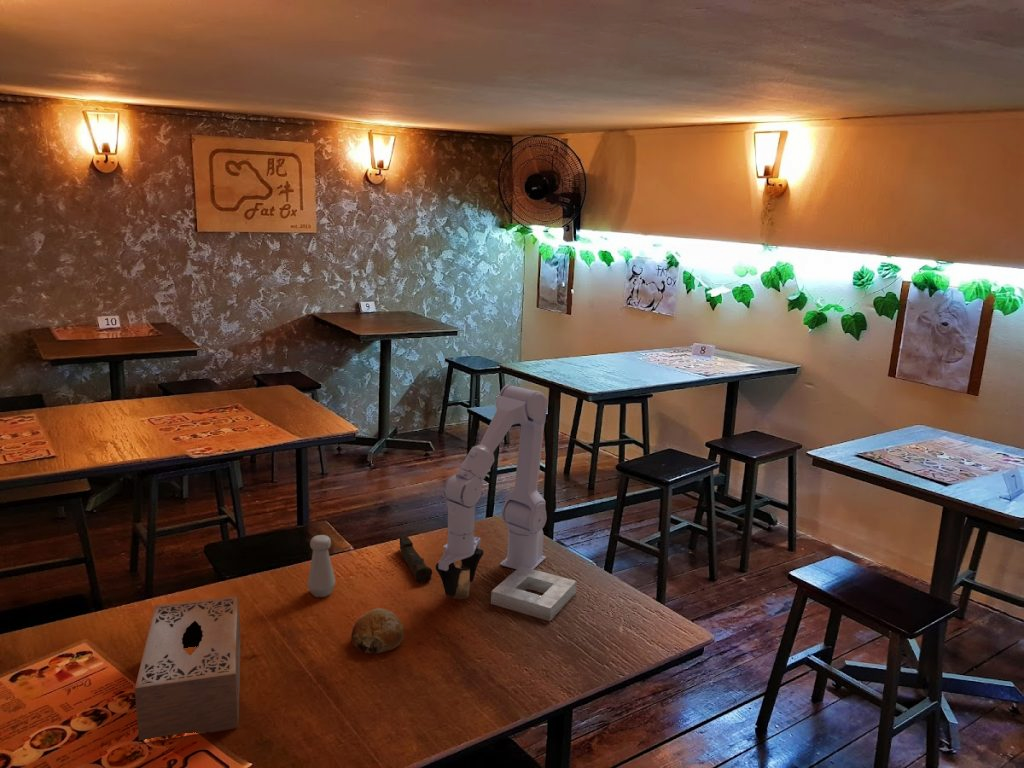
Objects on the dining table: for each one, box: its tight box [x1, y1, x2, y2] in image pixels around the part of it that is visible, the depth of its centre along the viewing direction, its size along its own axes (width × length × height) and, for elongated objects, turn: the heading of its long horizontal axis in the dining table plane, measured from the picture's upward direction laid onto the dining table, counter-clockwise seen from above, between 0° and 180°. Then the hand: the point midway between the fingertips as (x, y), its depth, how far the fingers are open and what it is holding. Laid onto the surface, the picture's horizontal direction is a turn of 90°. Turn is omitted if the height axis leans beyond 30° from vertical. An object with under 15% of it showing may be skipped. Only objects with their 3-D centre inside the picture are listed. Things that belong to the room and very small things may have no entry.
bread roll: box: [350, 607, 405, 654], centre depth 147 cm, size 10×10×8 cm
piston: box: [449, 564, 471, 600], centre depth 166 cm, size 4×4×6 cm
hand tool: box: [399, 535, 433, 585], centre depth 179 cm, size 19×4×5 cm, turn 21°
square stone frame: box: [490, 566, 577, 622], centre depth 166 cm, size 14×14×3 cm
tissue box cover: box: [134, 595, 242, 742], centre depth 130 cm, size 26×14×10 cm, turn 19°
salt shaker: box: [307, 534, 336, 598], centre depth 163 cm, size 6×6×13 cm
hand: (459, 587), depth 166 cm, fingers open, 7 cm apart
